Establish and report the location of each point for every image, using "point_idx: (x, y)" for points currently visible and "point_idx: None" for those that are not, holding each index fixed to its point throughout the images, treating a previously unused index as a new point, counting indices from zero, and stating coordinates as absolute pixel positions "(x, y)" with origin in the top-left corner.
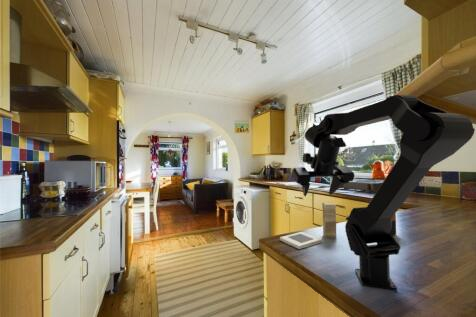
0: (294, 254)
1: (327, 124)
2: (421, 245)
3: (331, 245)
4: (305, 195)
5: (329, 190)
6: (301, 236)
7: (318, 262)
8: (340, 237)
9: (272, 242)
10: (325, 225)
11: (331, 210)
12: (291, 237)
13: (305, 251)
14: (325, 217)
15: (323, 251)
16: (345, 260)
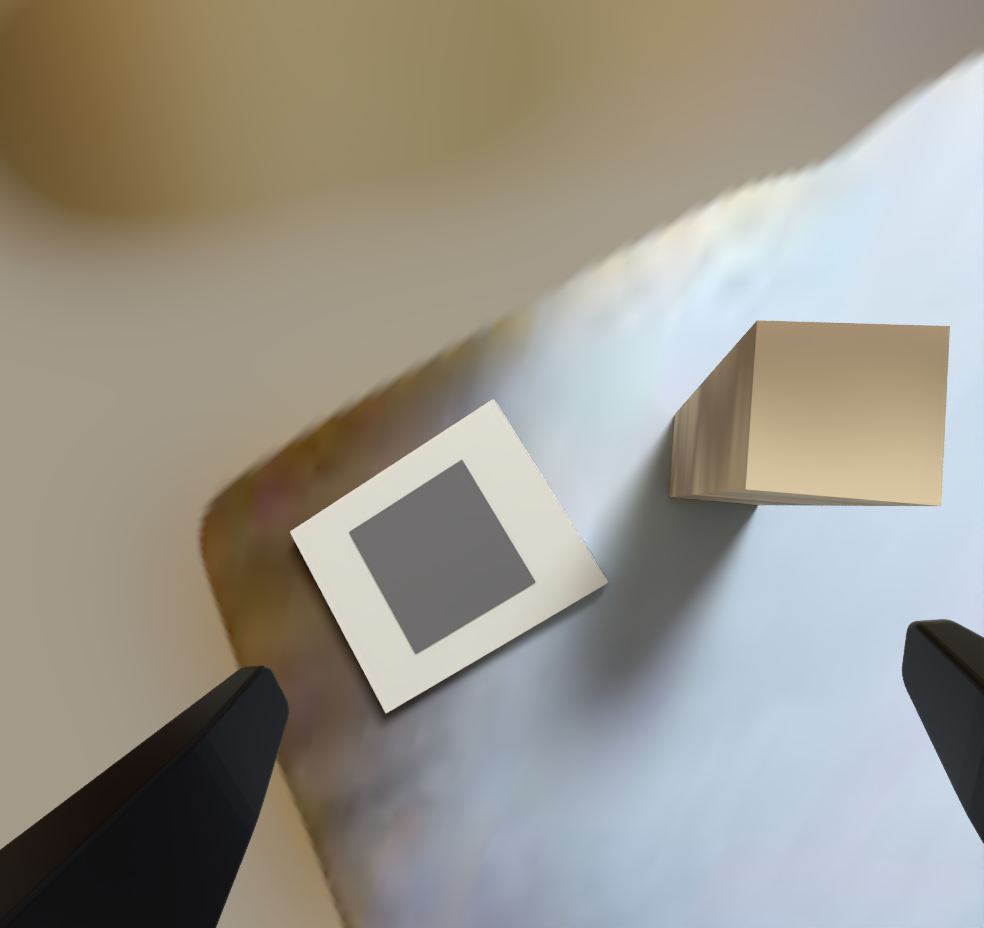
0: (343, 782)
1: None
2: None
3: (652, 648)
4: (263, 752)
5: (965, 679)
6: (453, 524)
7: (455, 913)
8: None
9: (246, 571)
10: (686, 486)
11: (816, 499)
12: (371, 544)
13: (425, 742)
14: (702, 489)
15: (548, 753)
16: (643, 910)
